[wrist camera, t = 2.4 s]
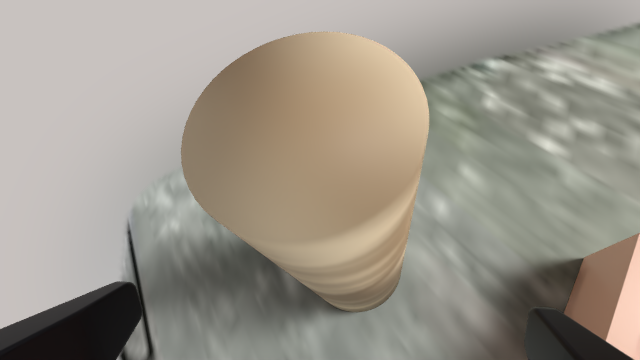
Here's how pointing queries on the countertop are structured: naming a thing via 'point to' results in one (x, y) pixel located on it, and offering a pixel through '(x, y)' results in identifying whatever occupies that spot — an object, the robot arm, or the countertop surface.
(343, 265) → the beech dowel
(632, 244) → the box
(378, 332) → the countertop surface
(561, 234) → the countertop surface
